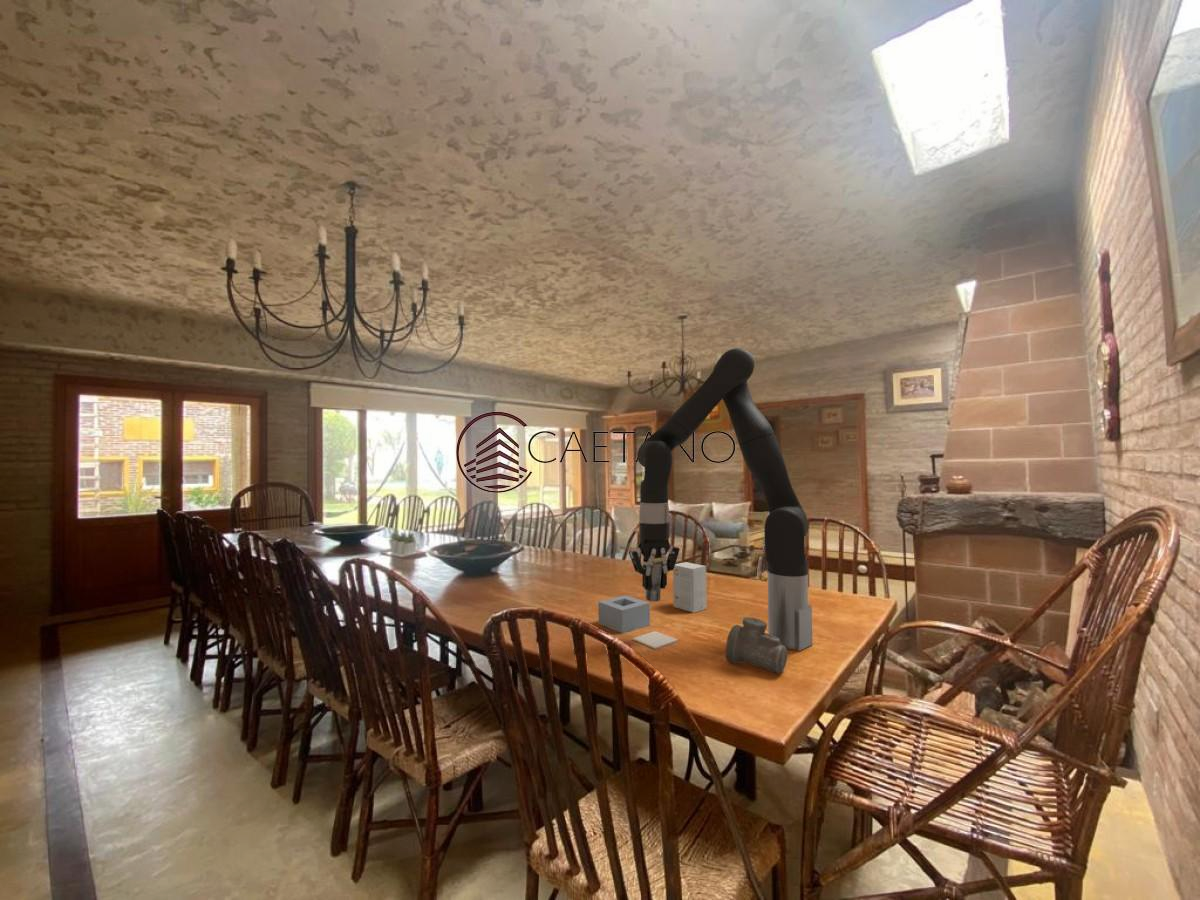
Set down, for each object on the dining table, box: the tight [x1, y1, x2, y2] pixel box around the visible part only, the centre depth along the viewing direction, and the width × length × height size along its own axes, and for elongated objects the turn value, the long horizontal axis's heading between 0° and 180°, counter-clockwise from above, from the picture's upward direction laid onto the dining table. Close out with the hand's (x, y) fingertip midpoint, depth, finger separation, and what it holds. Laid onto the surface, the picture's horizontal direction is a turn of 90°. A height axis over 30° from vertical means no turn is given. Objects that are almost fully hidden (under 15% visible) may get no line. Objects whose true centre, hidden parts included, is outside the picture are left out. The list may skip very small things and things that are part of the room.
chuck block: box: [597, 595, 651, 634], centre depth 134 cm, size 10×10×6 cm
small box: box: [672, 561, 708, 614], centre depth 148 cm, size 8×6×13 cm
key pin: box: [645, 557, 663, 602], centre depth 122 cm, size 4×4×11 cm
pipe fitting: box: [724, 616, 788, 675], centre depth 106 cm, size 12×8×10 cm
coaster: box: [632, 630, 679, 650], centre depth 121 cm, size 8×8×1 cm
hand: (654, 588), depth 122 cm, fingers closed on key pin, 3 cm apart
